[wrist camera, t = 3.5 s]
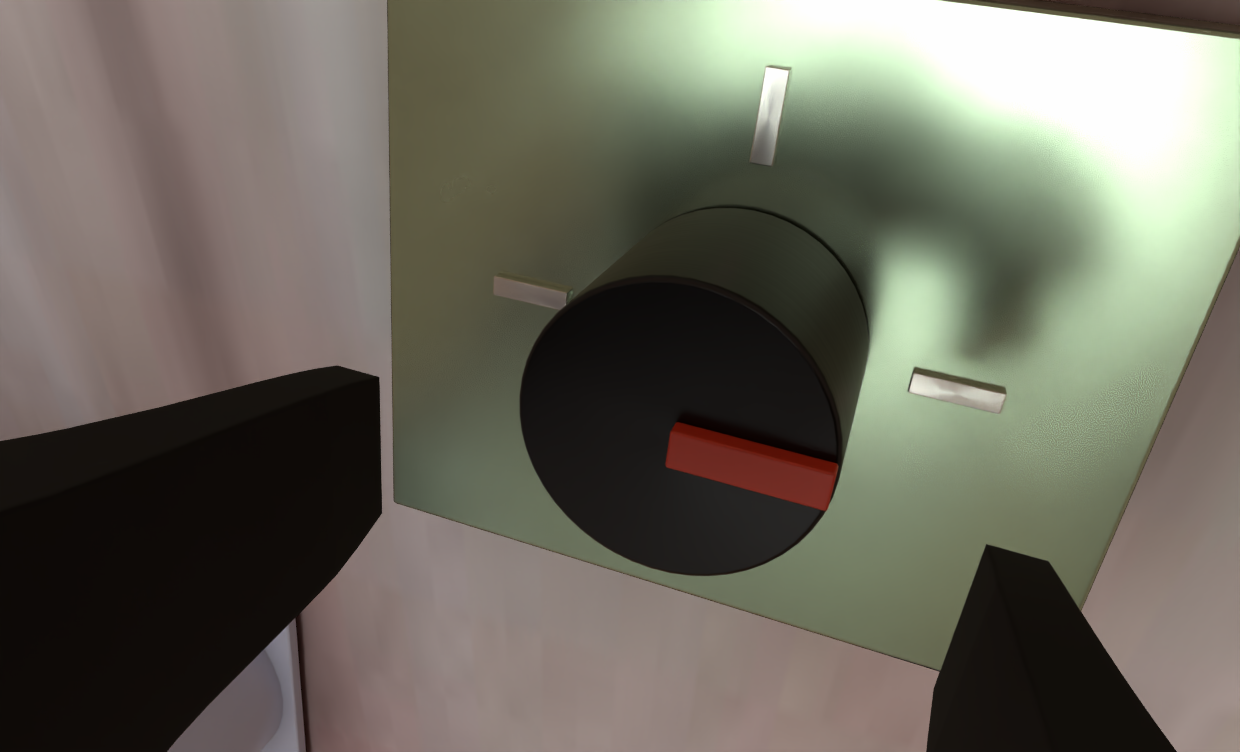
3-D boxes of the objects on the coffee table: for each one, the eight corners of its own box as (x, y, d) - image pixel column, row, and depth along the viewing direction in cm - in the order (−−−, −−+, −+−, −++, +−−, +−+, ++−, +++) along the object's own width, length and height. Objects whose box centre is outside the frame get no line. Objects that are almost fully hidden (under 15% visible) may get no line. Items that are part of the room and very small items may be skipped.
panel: (460, 438, 22) (387, 507, 19) (473, -71, 17) (378, -77, 14) (1030, 600, 18) (1042, 711, 16) (1260, 27, 13) (1336, 44, 11)
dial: (595, 420, 16) (500, 538, 13) (620, 183, 14) (515, 250, 11) (835, 484, 15) (799, 631, 12) (899, 237, 13) (877, 330, 10)
